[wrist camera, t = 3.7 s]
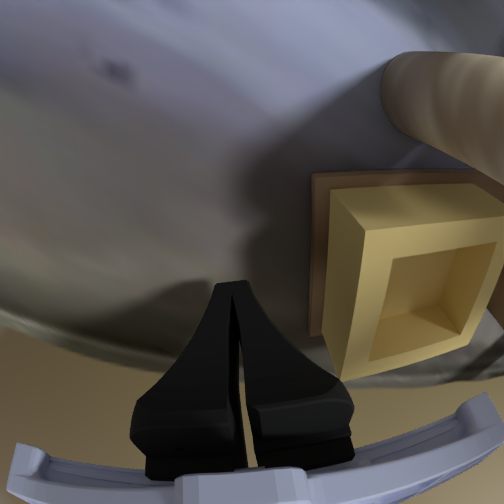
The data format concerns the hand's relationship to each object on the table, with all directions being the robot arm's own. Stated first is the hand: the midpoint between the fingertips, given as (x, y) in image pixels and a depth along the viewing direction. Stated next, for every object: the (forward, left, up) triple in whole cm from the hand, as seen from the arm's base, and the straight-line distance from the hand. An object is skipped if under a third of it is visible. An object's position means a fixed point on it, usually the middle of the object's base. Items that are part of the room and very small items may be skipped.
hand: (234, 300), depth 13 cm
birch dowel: (-8, +9, -2) cm, 12 cm away
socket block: (0, +8, -2) cm, 9 cm away
